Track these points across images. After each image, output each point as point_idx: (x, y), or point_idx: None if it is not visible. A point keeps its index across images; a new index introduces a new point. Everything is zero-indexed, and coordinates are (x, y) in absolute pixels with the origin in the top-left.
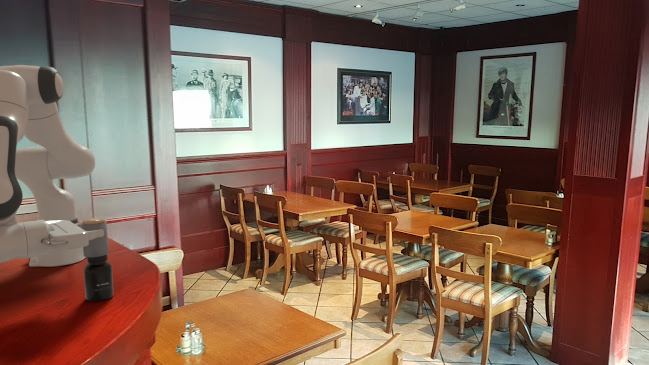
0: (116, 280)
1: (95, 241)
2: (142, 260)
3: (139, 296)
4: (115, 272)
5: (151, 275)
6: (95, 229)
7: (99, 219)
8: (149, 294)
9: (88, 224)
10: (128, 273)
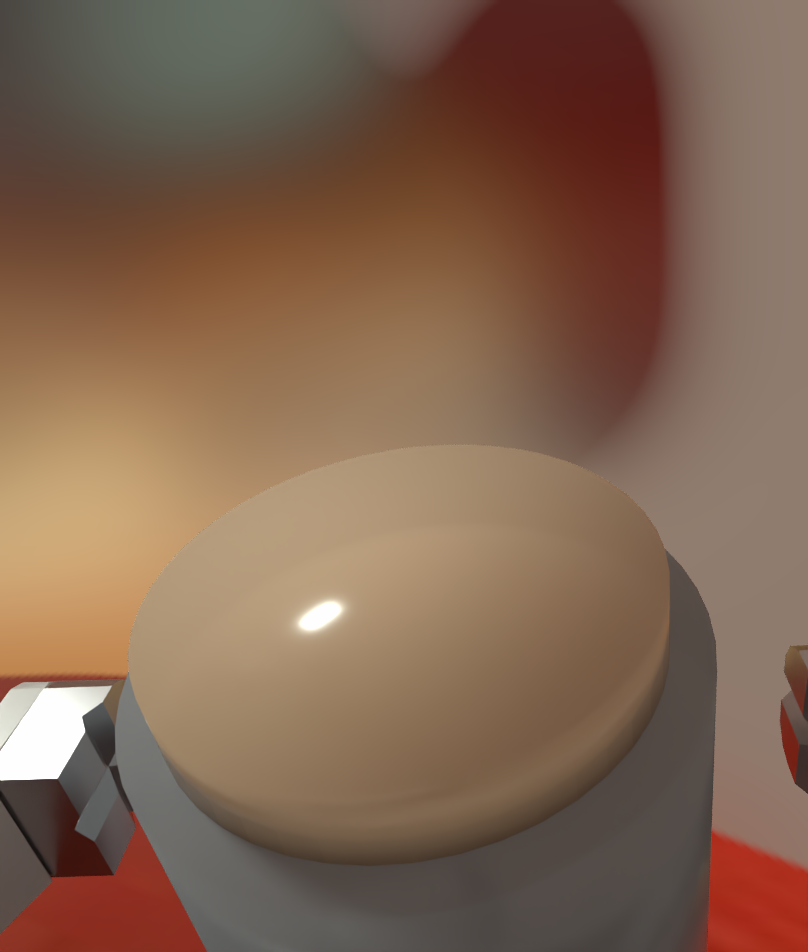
0: (196, 946)
1: (707, 940)
2: (5, 685)
3: (744, 938)
4: None
5: None
6: (714, 739)
7: (453, 496)
8: (734, 861)
9: (617, 758)
10: (137, 822)
